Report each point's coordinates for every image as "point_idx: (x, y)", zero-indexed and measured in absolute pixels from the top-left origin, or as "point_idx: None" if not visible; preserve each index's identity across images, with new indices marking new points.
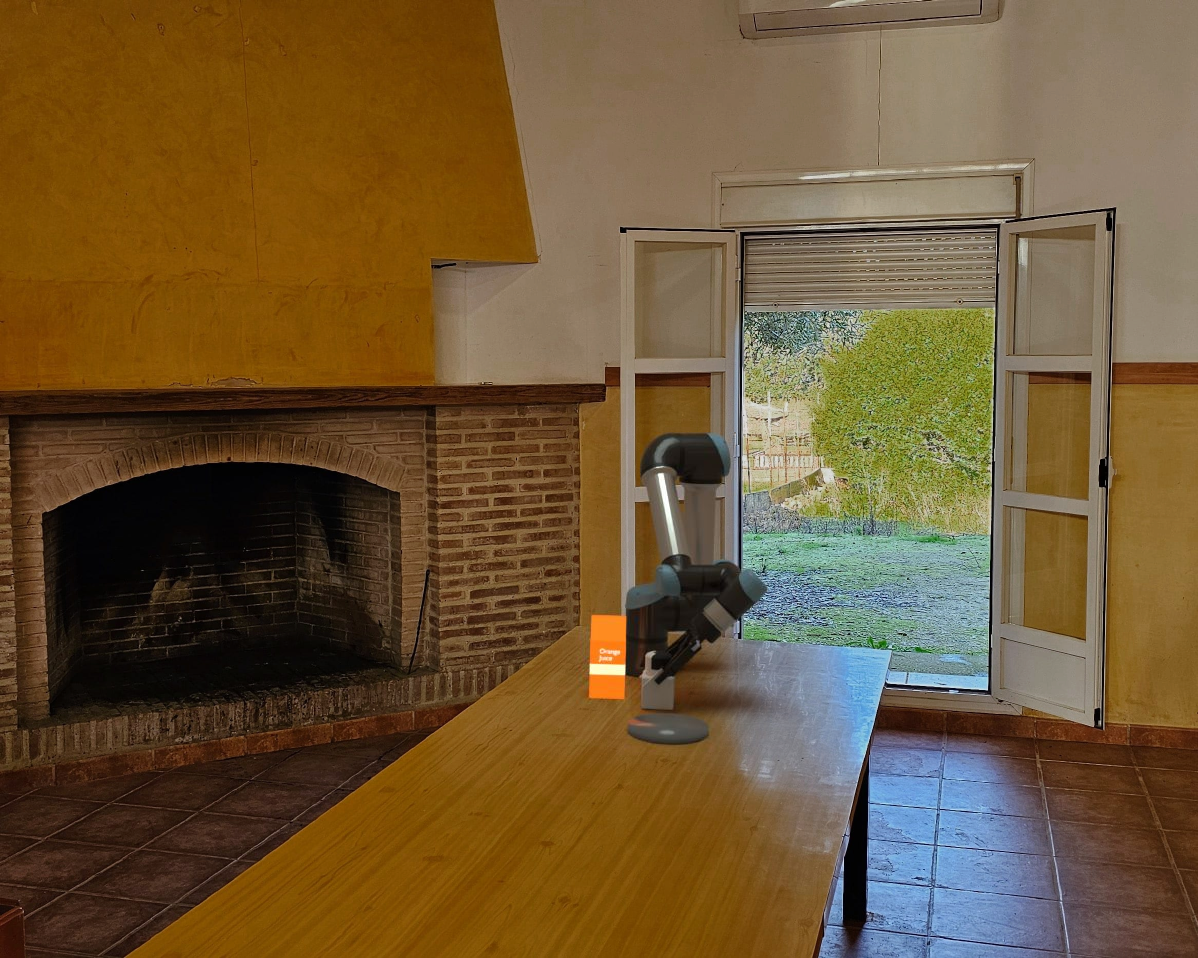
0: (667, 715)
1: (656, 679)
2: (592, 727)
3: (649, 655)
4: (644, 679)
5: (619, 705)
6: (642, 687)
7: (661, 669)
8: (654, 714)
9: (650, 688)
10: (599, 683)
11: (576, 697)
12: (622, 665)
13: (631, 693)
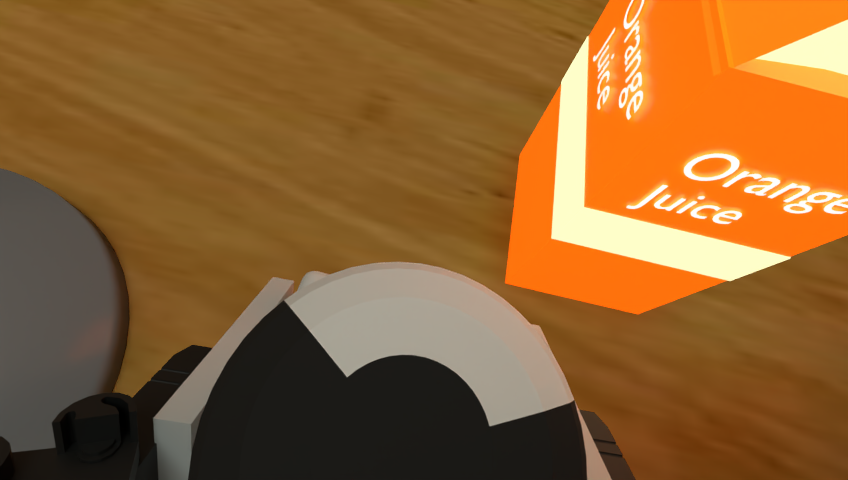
0: (28, 405)
1: (171, 358)
2: (127, 78)
3: (344, 284)
4: (298, 288)
5: (403, 238)
6: (272, 280)
7: (156, 414)
8: (86, 331)
9: None
10: (539, 149)
11: (524, 117)
12: (580, 193)
13: (594, 337)
